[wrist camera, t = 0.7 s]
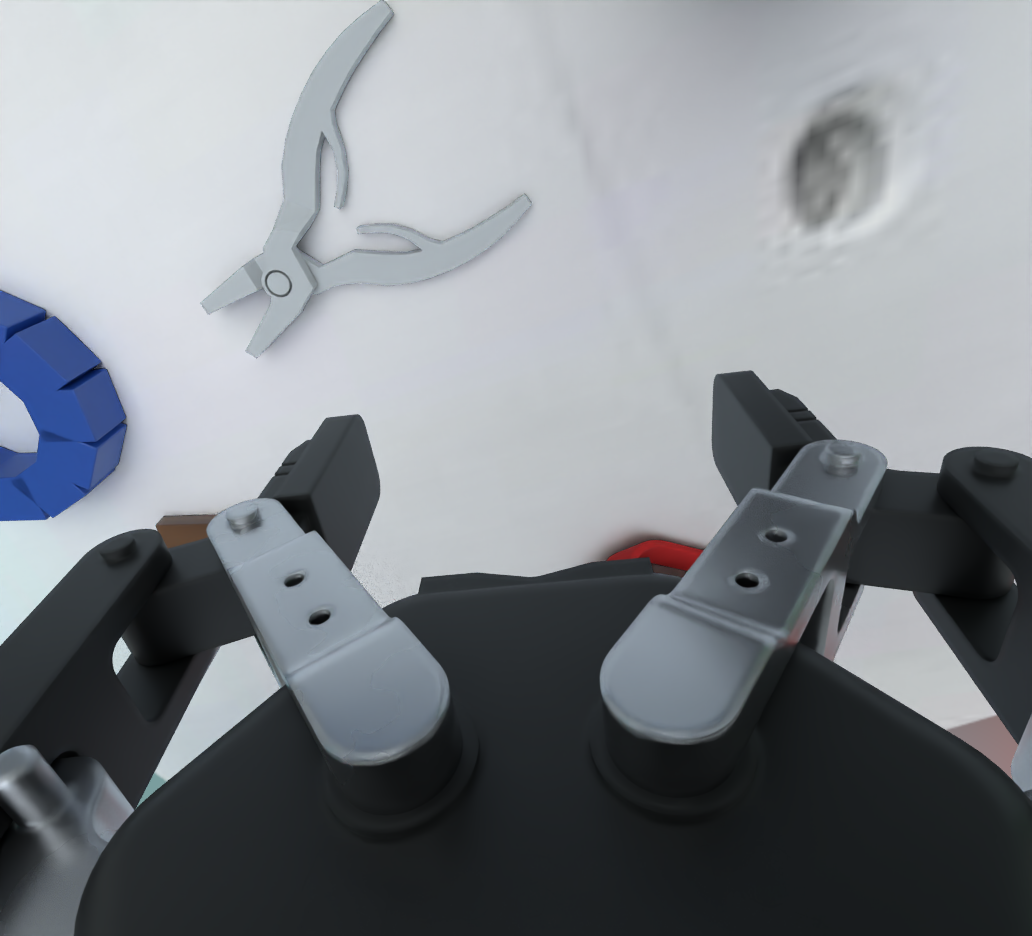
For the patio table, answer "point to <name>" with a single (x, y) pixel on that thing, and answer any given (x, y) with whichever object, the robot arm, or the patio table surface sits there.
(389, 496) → the patio table surface
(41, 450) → the ring
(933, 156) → the patio table surface
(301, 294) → the pliers
